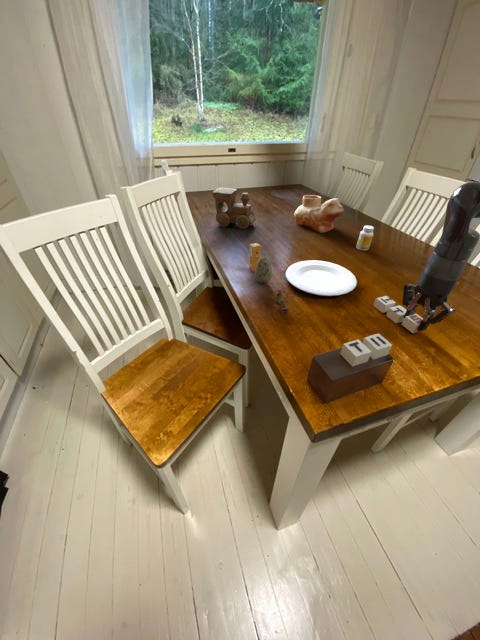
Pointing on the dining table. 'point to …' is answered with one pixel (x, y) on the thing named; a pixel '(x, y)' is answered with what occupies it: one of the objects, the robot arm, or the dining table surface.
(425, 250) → the dining table surface
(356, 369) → the tile rack
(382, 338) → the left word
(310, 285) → the plate
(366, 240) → the supplement bottle
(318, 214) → the ceramic vessel
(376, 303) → the letter cube pair
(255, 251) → the supplement box
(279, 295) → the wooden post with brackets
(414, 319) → the tile
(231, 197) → the wooden toy train
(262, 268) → the decorative egg
